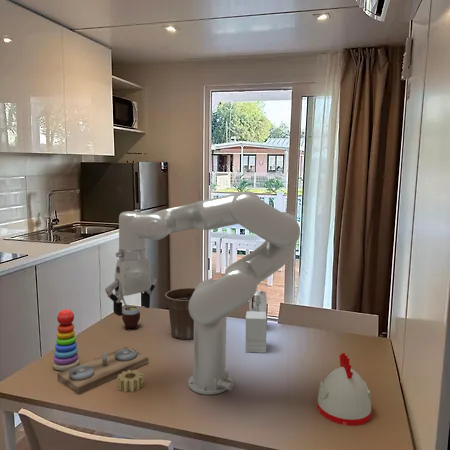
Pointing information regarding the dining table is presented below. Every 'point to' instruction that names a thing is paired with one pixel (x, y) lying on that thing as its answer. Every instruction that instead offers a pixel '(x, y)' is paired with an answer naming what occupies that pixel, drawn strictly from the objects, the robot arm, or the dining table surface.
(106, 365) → the gear board
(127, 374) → the brass gear
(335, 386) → the kitchen timer
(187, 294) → the plant pot
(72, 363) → the stacking toy
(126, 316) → the mate gourd
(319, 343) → the dining table surface
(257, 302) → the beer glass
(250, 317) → the supplement box
